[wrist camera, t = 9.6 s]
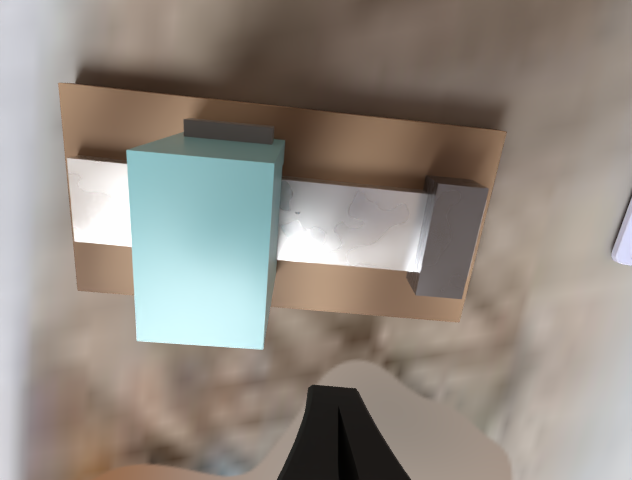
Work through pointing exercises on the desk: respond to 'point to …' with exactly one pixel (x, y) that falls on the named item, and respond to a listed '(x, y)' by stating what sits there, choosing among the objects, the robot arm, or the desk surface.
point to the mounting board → (299, 161)
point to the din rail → (325, 222)
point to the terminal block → (205, 233)
